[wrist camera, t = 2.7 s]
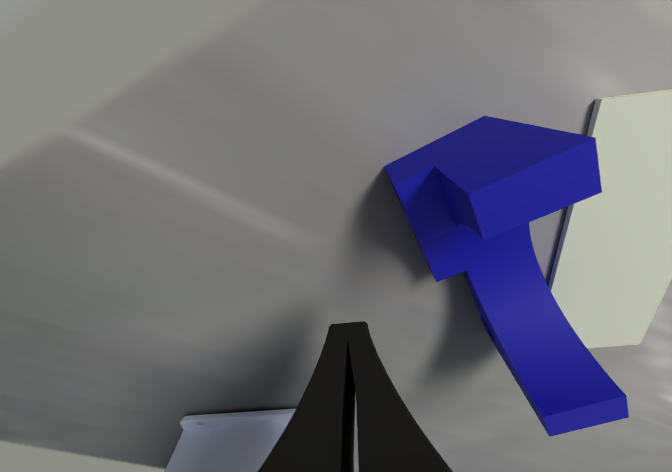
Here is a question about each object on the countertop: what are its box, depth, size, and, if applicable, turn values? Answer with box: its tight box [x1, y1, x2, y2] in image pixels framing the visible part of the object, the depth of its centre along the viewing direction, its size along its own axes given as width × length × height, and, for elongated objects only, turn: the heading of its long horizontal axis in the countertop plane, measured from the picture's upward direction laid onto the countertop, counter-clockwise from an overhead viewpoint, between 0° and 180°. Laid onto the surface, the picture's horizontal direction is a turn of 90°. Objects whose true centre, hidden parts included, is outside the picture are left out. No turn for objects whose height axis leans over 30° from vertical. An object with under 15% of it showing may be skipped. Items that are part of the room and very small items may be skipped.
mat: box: [548, 89, 672, 348], centre depth 14 cm, size 6×14×1 cm, turn 7°
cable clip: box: [384, 116, 629, 436], centre depth 12 cm, size 12×4×6 cm, turn 28°
